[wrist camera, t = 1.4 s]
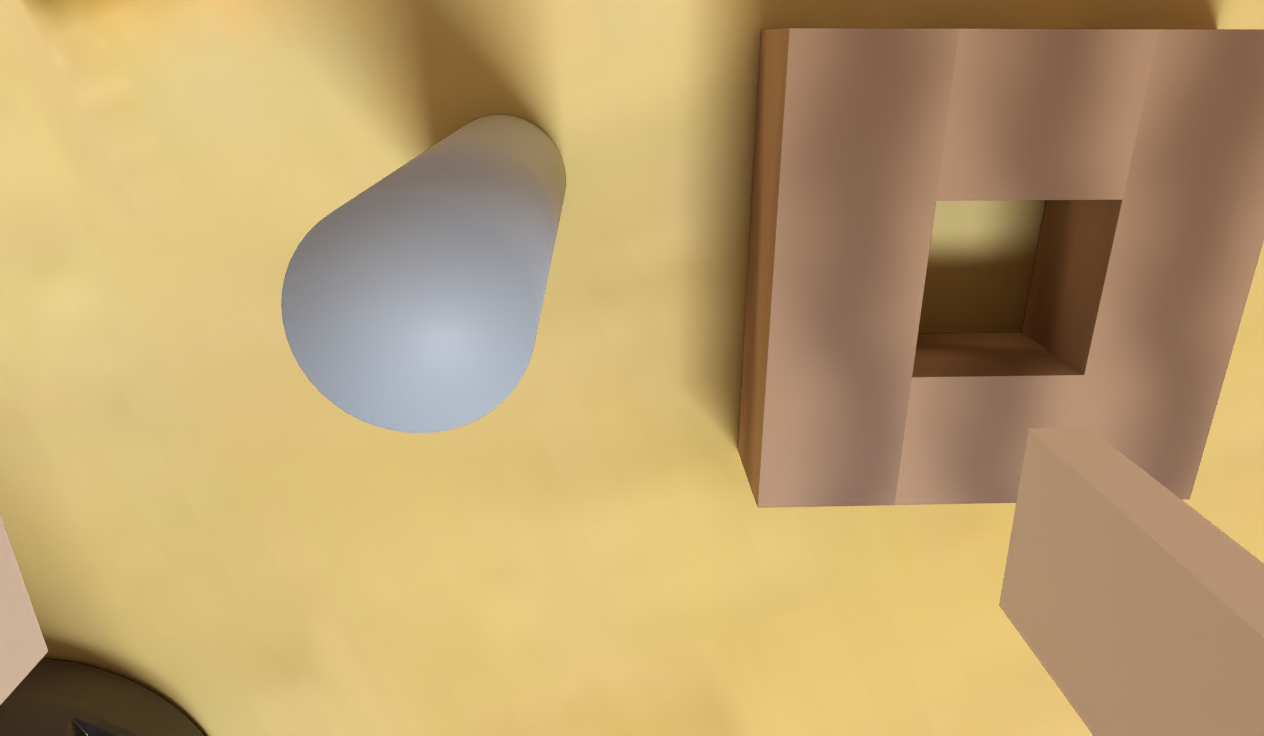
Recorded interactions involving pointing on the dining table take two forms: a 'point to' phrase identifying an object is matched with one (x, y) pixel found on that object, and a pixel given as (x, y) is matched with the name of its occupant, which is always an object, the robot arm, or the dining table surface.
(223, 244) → the dining table surface
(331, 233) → the peg
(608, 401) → the dining table surface
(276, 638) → the dining table surface
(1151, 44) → the socket block
